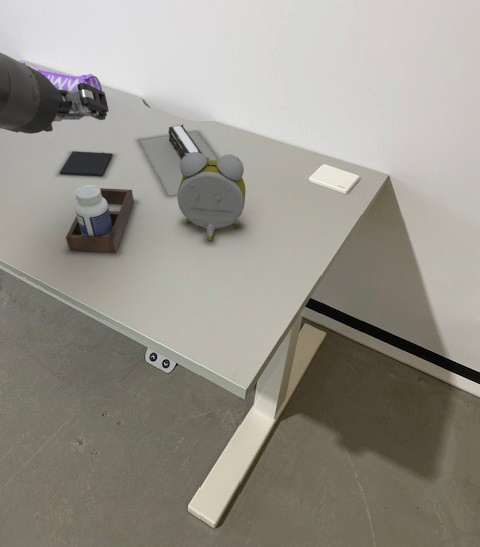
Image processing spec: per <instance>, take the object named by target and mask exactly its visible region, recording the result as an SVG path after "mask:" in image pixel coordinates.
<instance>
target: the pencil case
mask: <svg viewBox="0 0 480 547" xmlns="http://www.w3.org/2000/svg"><path fill="white" fill-rule="evenodd" d="M21 63H23V64H25V65H27V66H29V67H31V68H33V69H35V70H37V71H39V72H41V73H42V74H44V75H45V76H46V77H47V78H48V79H49V80H50V81H51V82H52V84H53V85H54V86H55V87H56V88H57V89H60V90H70V91H78V87H77V84H80V83H86V84H88V85H90V86H92V87H94V88H97V89H99V90H101V91H103V88H102V84H101V82H100V79H99V78H98V77H97V76H96V75H94V74H92V73H89V74H82V75H81V76H79V75H78V76H77V75H71V74H70V75H69V74H65V73H61V72H60V73H59V72H55V71H50V70H45V69H41V68H39V67H37V66H35V65H33V64H26V63H25V61H22V62H21ZM82 107H83V106H82ZM71 109H73V106H72V108H71ZM83 109H84V110H88V108H83Z"/></svg>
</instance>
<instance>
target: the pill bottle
mask: <svg viewBox="0 0 480 547" xmlns="http://www.w3.org/2000/svg"><path fill="white" fill-rule="evenodd" d="M100 188H101V187H99V186H97V185H94V184H86V185H85V184H84V185H82V186H80V187H78V188H76V190H75V192H74V194H75V200H76V202H75V203H74V212H75V215H76V216H77V219H78V223H79V226H80V230H81V233H82V235H86V236H106V237H110V235H111V232H112V230H113V226H112V222H111V217H110V212H109V211H110V208H109V203H107V201H106V199H105V198H103V197H102V194H101V191H100Z"/></svg>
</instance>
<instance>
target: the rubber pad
mask: <svg viewBox="0 0 480 547" xmlns="http://www.w3.org/2000/svg"><path fill="white" fill-rule="evenodd" d="M112 158H113V153H111V152H94V151H73V150H72V151H71V153H70V154H69V156H68V158H67V159H66V161H65V162H64V163H63V166H62V167H61V169H60V171H59V174H60V175H68V176H69V175H70V176H89V177H90V176H91V177H104V174H105V172H106V170H107V168H108V166H109V163H110V162H111V161H112Z"/></svg>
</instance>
